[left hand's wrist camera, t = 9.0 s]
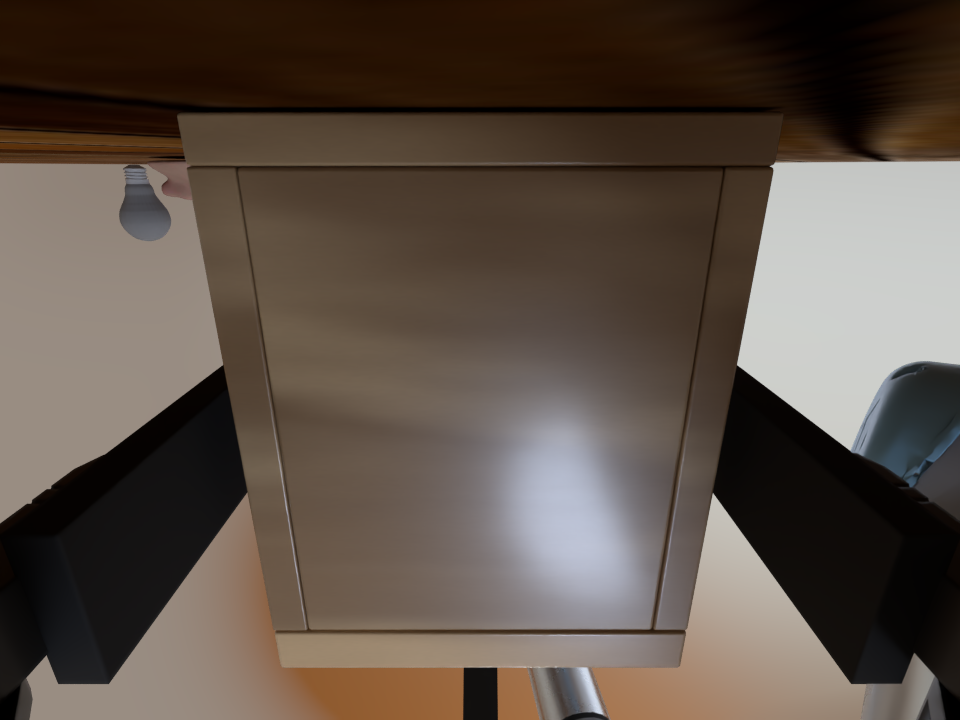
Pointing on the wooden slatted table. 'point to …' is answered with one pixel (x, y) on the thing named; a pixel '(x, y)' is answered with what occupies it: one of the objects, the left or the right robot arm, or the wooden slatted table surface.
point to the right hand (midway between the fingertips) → (480, 669)
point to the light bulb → (142, 207)
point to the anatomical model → (174, 177)
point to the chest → (480, 354)
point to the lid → (480, 648)
